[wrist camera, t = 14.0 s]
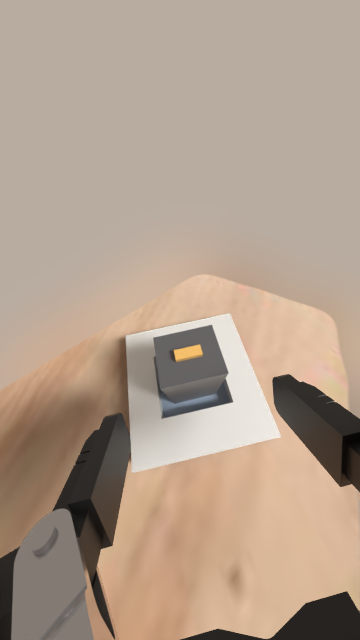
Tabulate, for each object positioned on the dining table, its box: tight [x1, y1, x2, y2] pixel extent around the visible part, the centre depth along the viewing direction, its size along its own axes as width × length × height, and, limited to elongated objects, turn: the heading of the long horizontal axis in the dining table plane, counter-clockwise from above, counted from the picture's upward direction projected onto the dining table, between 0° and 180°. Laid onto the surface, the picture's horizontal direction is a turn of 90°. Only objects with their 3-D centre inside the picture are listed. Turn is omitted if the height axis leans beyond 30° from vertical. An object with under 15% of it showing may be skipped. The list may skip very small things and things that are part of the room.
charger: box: [153, 325, 229, 404], centre depth 16 cm, size 4×4×9 cm
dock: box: [126, 313, 281, 473], centre depth 19 cm, size 13×13×2 cm
